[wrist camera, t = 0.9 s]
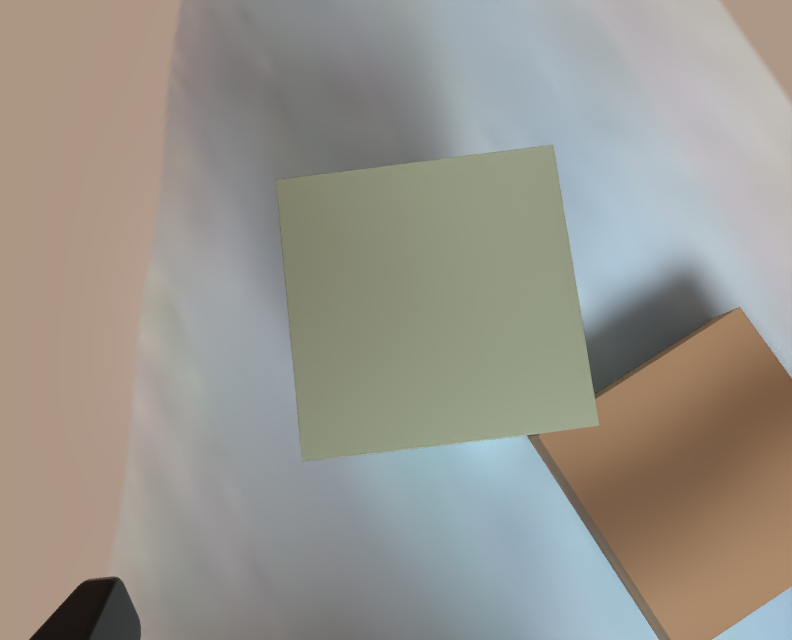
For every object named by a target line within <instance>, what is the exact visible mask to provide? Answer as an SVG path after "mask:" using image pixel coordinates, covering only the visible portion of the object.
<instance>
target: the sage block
mask: <svg viewBox="0 0 792 640" xmlns="http://www.w3.org/2000/svg"><path fill="white" fill-rule="evenodd" d="M276 187H277V198H278V208H279V219H280V230H281V240H282V251H283V262H284V272H285V283H286V293H287V304H288V315H289V325H290V336H291V347H292V357H293V368H294V379H295V389H296V400H297V410H298V421H299V432H300V442H301V453H302V461H310V460H320V459H329V458H339V457H349V456H359V455H367V454H376V453H384V452H392V451H401V450H409V449H417V448H426V447H434V446H442V445H451V444H459V443H467V442H476V441H484V440H492V439H501V438H509V437H517V436H525V435H532V434H540V433H547V432H555V431H562V430H570V429H578V428H585V427H593V426H599V420H598V414H597V408H596V402H595V396H594V390H593V384H592V378H591V372H590V366H589V360H588V354H587V348H586V342H585V335H584V329H583V323H582V317H581V311H580V305H579V299H578V293H577V287H576V281H575V275H574V269H573V263H572V257H571V251H570V245H569V239H568V232H567V226H566V220H565V214H564V208H563V202H562V196H561V190H560V184H559V178H558V172H557V166H556V160H555V154H554V148H553V145H548V146H540V147H532V148H524V149H516V150H508V151H500V152H492V153H484V154H476V155H468V156H460V157H452V158H444V159H437V160H429V161H421V162H413V163H405V164H397V165H389V166H381V167H373V168H365V169H357V170H349V171H341V172H333V173H325V174H317V175H309V176H302V177H294V178H286V179H278V180H276Z"/></svg>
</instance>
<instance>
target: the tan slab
mask: <svg viewBox="0 0 792 640" xmlns="http://www.w3.org/2000/svg"><path fill="white" fill-rule="evenodd" d="M594 396H595V402H596V408H597V414H598V420H599V426H593V427H585V428H578V429H570V430H562V431H555V432H547V433H540V434H532V435H530V436H528V438H529V439H530V441H531V442H532V444H533V446H534V447H535V449H536V450H537V452H538V453H539V455H540V456H541V458H542V459H543V461H544V463H545V464H546V466H547V467H548V469H549V470H550V472H551V473H552V475H553V476H554V478H555V480H556V481H557V483H558V484H559V486H560V487H561V489H562V490H563V492H564V493H565V495H566V496H567V498H568V500H569V501H570V503H571V504H572V506H573V507H574V509H575V510H576V512H577V513H578V515H579V517H580V518H581V520H582V521H583V523H584V524H585V526H586V527H587V529H588V530H589V532H590V534H591V535H592V537H593V538H594V540H595V541H596V543H597V544H598V546H599V547H600V549H601V550H602V552H603V554H604V555H605V557H606V558H607V560H608V561H609V563H610V564H611V566H612V567H613V569H614V571H615V572H616V574H617V575H618V577H619V578H620V580H621V581H622V583H623V584H624V586H625V588H626V589H627V591H628V592H629V594H630V595H631V597H632V598H633V600H634V601H635V603H636V604H637V606H638V608H639V609H640V611H641V612H642V614H643V615H644V617H645V618H646V620H647V621H648V623H649V625H650V626H651V628H652V629H653V631H654V632H655V634H656V635H657V637H658V638H659V639H660V640H712V639H714V638H715V637H717V636H718V635H720V634H721V633H722V632H724V631H725V630H727V629H728V628H730V627H731V626H733V625H734V624H736V623H737V622H739V621H740V620H742V619H743V618H745V617H746V616H748V615H749V614H751V613H752V612H754V611H755V610H757V609H758V608H760V607H761V606H763V605H764V604H766V603H767V602H769V601H770V600H772V599H773V598H775V597H776V596H778V595H779V594H781V593H782V592H784V591H785V590H787V589H788V588H790V587H791V586H792V378H791V377H790V376H789V374H788V373H787V371H786V370H785V369H784V367H783V366H782V365H781V363H780V362H779V360H778V359H777V358H776V356H775V355H774V354H773V352H772V351H771V349H770V348H769V347H768V345H767V344H766V343H765V341H764V340H763V338H762V337H761V336H760V334H759V333H758V331H757V330H756V329H755V327H754V326H753V325H752V323H751V322H750V320H749V319H748V318H747V316H746V315H745V314H744V312H743V311H742V309H741V308H740V307H739V308H736V309H734V310H732V311H730V312H727V313H725V314H723V315H721V316H718V317H716V318H714V319H712V320H710V321H708V322H707V323H705V324H704V325H702V326H701V327H699V328H697V329H696V330H694V331H693V332H691V333H690V334H688V335H686V336H685V337H683V338H682V339H680V340H679V341H677V342H676V343H674V344H672V345H671V346H669V347H668V348H666V349H665V350H663V351H661V352H660V353H658V354H657V355H655V356H654V357H652V358H650V359H649V360H647V361H646V362H644V363H643V364H641V365H639V366H638V367H636V368H635V369H633V370H632V371H630V372H629V373H627V374H625V375H624V376H622V377H621V378H619V379H618V380H616V381H614V382H613V383H611V384H610V385H608V386H607V387H605V388H603V389H602V390H600V391H599V392H597V393H596V394H594Z"/></svg>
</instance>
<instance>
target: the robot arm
mask: <svg viewBox="0 0 792 640" xmlns="http://www.w3.org/2000/svg"><path fill="white" fill-rule="evenodd" d="M140 638H141V626H140V620H139V617H138V614H137V612H136V610H135V608H134V605H133V603H132V601H131V599H130V596H129V594H128V592H127V590H126V587H125V585H124V583H123V582H122V580H121V579H119V578H118V577H104V578H95V579H88V580H86V581H84V582H83V583H81V584H80V585H79V586H78V587H77V588H76V589H75V590H74V591H73V592H72V593H71V594H70V596H69V597H68V598H67V599H66V600H65V601H64V602H63V603H62V604H61V605H60V606H59V608H58V609H57V610H56V611H55V612H54V613H53V614H52V615H51V616H50V618H49V619H48V620H47V621H46V622H45V623H44V624H43V625H42V626H41V627H40V629H38V630H37V632H36V633H35V634H34V635H33V636H32V637H31V638H30V639H29V640H140Z"/></svg>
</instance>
